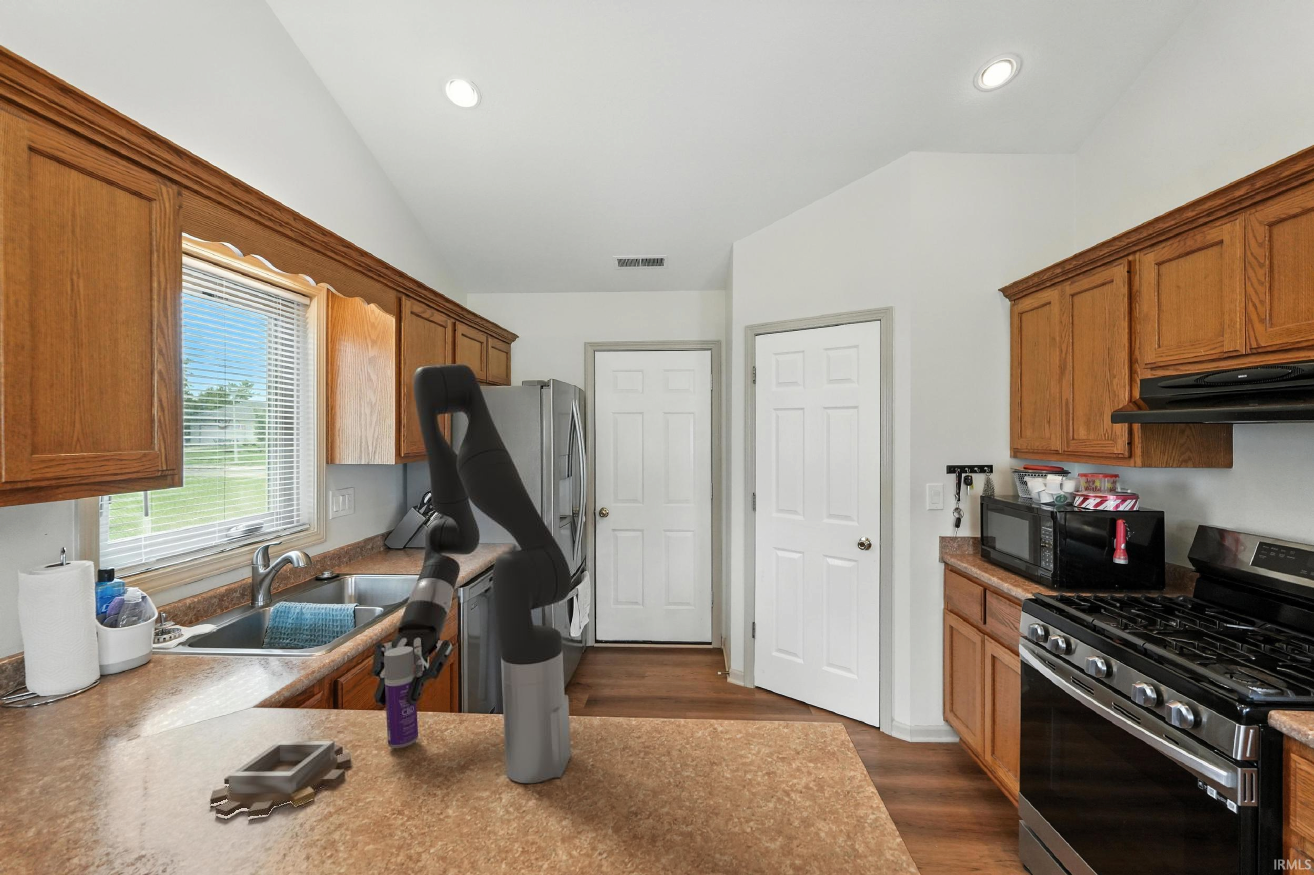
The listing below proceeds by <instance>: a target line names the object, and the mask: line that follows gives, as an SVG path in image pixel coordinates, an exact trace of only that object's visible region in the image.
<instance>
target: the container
mask: <svg viewBox="0 0 1314 875" xmlns="http://www.w3.org/2000/svg"><path fill="white" fill-rule="evenodd" d="M384 662H385V696H386V703H385V713H386V733H387V746H388V747H389V748H391V749H400V748H401V749H402V748H404V747H405V748H406V747H408V746H410V745H413V744H414V743H416V742H417V741H418V739H419V723H418V722H419V720H418V705H417V703H418V701H416V704H415V705H409V704H408V703H407V702H406V698H407V695H408V692H409V689H410V686H411V683H412V680H413V678H416V675H415V664H414V653H413V648H412V647H408V646H405V647H398V648H394V649H391V650H388V651H386V652H385V653H384Z"/></svg>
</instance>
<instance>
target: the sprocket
mask: <svg viewBox="0 0 1314 875" xmlns="http://www.w3.org/2000/svg"><path fill="white" fill-rule="evenodd" d="M343 747H344V746H343V745H339V744H335V741H334V740H332V741H331V740H328V741H327V740H324V741H323V740H320V741H319V740H315V741H314V740H313V741H310V740H309V741H307V740H306V741H304V740H303V741H301V740H300V741H298V740H297V741H295V740H293V741H292V740H290V741H285V740H284V741H283V740H282V741H276V743H274V744H273V745H271V746H269V747H268V748H267V749H266V750H264V751H262V752H261V753H259V754H258V755H257V756H255V757H254V758H252V759H250V760H249V761H248V762H246V763H245V764H244V765H242V766H241V767H239V768H238V769H236V770H235V771H233V772H232V773H230V774H229V775H228V776H226V777H225V778H223V780H224V781H223V784H229V786H228V787H221V788H218V789H215V790H212V793H211V795H210V797H209V799H210V800H209V802H210V803H209V805H211V804H214V803H218V802H221V801H223V800H226V799H227V800H228V801H227V802H225V803H223V804H221V805H218V806H215V814H216V813H217V814H221V815H224V816H228V815H230V814H232V813H234V812H235V811H236V810H239V809H241V808H247V809H249V810H248V812H247V818H248V817H250V816H259V815H261V816H262V815H268V814H269V812H270V811H271V809H272V808H273V807H274V806H279V805H281V804H284V803H287V802H290V801H291V802H292V803H293V804H294V805H295V806H297V805H299V804H302V803H305V802H307V801H309V800H311V799H314V800H315V792H316V791H315V790H317V789H319V788H320V787H322V786H326V787H325V788H335V787H336V786H338V785H339V784H340V783H341V782H342V781H343V780H344V779H345V778H346V772H345V771H346V770H345V769H347V768H346V767H348V768H350V767H349V766H351V767H352V759H351V758H352V755H351V751H350V752H346V753H344V750H343ZM342 753H343V754H342ZM340 754H341V755H340ZM338 755H339V756H338ZM343 768H344V769H343ZM340 769H341V770H340ZM342 779H343V780H342ZM327 786H328V787H327ZM322 788H323V787H322ZM320 789H321V788H320ZM320 789H319V790H320ZM314 791H315V792H314ZM317 791H318V790H317Z"/></svg>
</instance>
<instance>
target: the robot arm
mask: <svg viewBox="0 0 1314 875" xmlns="http://www.w3.org/2000/svg"><path fill="white" fill-rule="evenodd" d="M480 385H481V384H479V381H478V378H477V376H476V374H475V373H474V371H473V369H472V368H471V367H470V366H468V365H466V364H462V363H461V364H460V363H454V364H441V365H428V366H427V365H425V366H421V367H418V368H417V369H416V371H415V373H414V375H413V395H414V401H415V406H416V413H417V417H418V422H419V427H420V432H421V436H422V443H423V445H424V450H425V453H426V459H427V464H428V470H429V478H430V482H429V483H430V491H431V492H430V494H431V504H432V505H431V507H432V509H433V510H434V512H436V513H437V514H438V515H442V516H445V517H448V518H438V519H435V520H433V521H432V522H430V524H429V525H428V526H427V527H426V530H425V535H424V536H425V538H424V540H425V542H424V543H425V544H424V556H423V564H422V568H421V569H420V572H419V575H418V577H417V580H416V583H415V585H414V587H413V588H412V591H411V593H410V595H409V598H408V601H407V602H406V606H405V609H404V611H403V614H402V616H401V619H400V622H399V624H398V628H397V633H396V635H395V637H394V638H393V639H392V640H391V641H389V642H386V643H383V642H382V641H378V642H376V643H375V645H374V651H373V652H374V654H373V660H372V665H371V666H372V667H371V674H372V675H373V676H374V677H375V678H376V679H378V681H379V682H378V684H377V687H376V690H375V693H374V695H373V696H374V698H373V699H374V700H375V703H376V704H377V705H378V706H386V696H385V662H384V653H385V652H386V651H388V650H391V649H394V648H398V647H405V646H408V647H412V648H413V653H414V666H415V678H413V680H412V683H411V686H410V689H409V692H408V695H407V698H406V702H407V703H408V704H409V705H415V704H416V701H417V702H419V701H420V700H421V697H422V693H423V690H424V686H425V684H426V682H428V681H429V680H431V679H433V680H436V679H438V678H439V676H440V675H441V673H442V671H443V670H444V667H445V666H446V664H447V662H448V660H449V658H450V656H451V655H452V654H453V651H454V647H453V645H452V643H451V642H450V641H449V640H448V639H445V640H441V638H440V637H441V636H442V635H443V634H442V633H443V631H444V627H445V625H446V624H445V623H446V621H447V617H448V614H449V612H450V610H451V605H452V600H453V596H454V590H455V587H456V585H457V581H458V578H459V575H460V571H461V566H460V564H459V562H458V560H457V559H455V558H452V557H450V556H448V555H463V556H465V555H470V554H472V553H474V552H475V551H476V549H477V548H478V546H479V544H480V540H481V539H480V534H481V533H480V529H479V526H478V523H477V520H476V518H475V516H474V513H473V510H472V506H471V503H472V504H473V506H474V507H476V508H477V509H478V510H479V511H481V513H483V514H484V515H486V516H487V517H488V518H490V519H491V520H492V521H494V522H495V523H496V524H498V525H499V526H501V527H502V528H503V529H505V530H506V531H507V532H508V533H509V534H510V535H511V536H512V537H513V539H514V540H515V542H516V543H517V544H518V546H519V547H520V549H517V550H512V551H508V552H505V553H501V554H500V555H499V556H498V557H497V558H496V559H495V563H494V565H493V570H492V594H493V602H494V612H495V626H496V634H497V640H498V643H499V647H500V662H501V664H500V665H501V683H502V684H501V685H502V686H501V689H502V706H503V708H502V710H503V711H502V712H503V730H504V732H503V734H504V754H505V756H504V758H505V759H504V761H505V762H504V763H505V772H506V776H507V778H509V779H510V780H512V781H514V782H517V783H519V784H520V783H521V784H534V783H541V782H545V781H548V780H551V779H554V778H561V777H563V774H564V772H565V770H566V768H567V765H568V764H569V763H568V762H569V761H570V758H571V757H572V752H571V748H572V747H571V730H570V729H571V727H570V708H569V707H570V706H569V705H570V704H569V696H568V695H567V694H565V681H564V680H565V679H564V677H565V676H564V658H563V638H562V634H561V632H560V631H559V630H558V629H557V628H555V627H553V626H552V627H550V626H547V625H538V624H537V625H536V624H534V622H533V616H532V610H536V609H540V608H543V607H547V606H551V605H554V604H558V603H560V602H562V601H563V600H565V599H566V598H567V597H568V596H569V595H570V591H571V588H572V575H571V570H570V567H569V563H568V561H567V559H566V556H565V554H564V552H563V550H562V549H561V547H560V545H559V544H558V543H557V541H556V539H555V537H554V535H553V534H552V533H551V531H550V530H549V528H548V526H547V525H546V523H545V522H544V520H543V518H542V517H541V515H540V514H539V512H538V509H537V508H536V506H535V505H534V504H535V503H534V502H533V500H532V499H531V497H530V495H529V492H528V490H527V489H526V487H525V485H524V483H523V481H522V478H521V476H520V474H519V470H518V469H517V467H516V465H515V463H514V461H513V459H512V456H511V454H510V453H509V451H508V449H507V447H506V446H505V444H504V442H503V440H502V439H503V438H502V437H501V435H500V434H499V431H498V429H497V427H496V425H495V423H494V420H493V418H492V415H491V413H490V411H489V408H488V405H487V402H486V400H485V396H484V394H483V391H482V388H481V386H480ZM456 413H463V414H464V415H465V416H466V418H467V420H468V421H467V422H468V424H467V427H466V432H465V434H464V437H463V440H462V441H461V445H460V447H459V450H458V452H456V451H455V450H454V448H453V447H452V446H451V445H450V443H448V441H447V439H446V438H445V437H444V435H443V433H442V431H441V428H440V424H439V419H438V416H439V415H446V414H449V415H450V414H456ZM470 501H471V503H470ZM449 518H451V519H449ZM444 554H445V555H444ZM446 554H447V555H446ZM434 652H436V653H435V654H434V656H433V658H432V660H431V662H429V661H430V656H431V655H432V654H433V653H434Z"/></svg>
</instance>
